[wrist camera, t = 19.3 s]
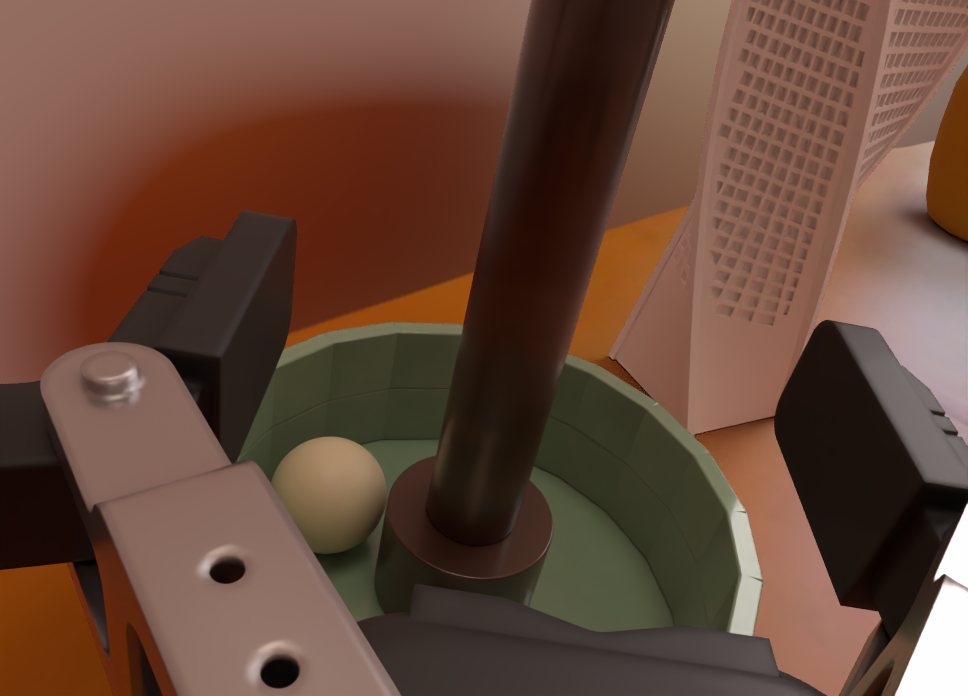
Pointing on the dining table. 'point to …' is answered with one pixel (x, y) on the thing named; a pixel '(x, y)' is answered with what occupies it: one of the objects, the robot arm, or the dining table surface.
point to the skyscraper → (779, 193)
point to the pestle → (524, 304)
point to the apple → (951, 165)
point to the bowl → (534, 479)
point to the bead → (331, 492)
